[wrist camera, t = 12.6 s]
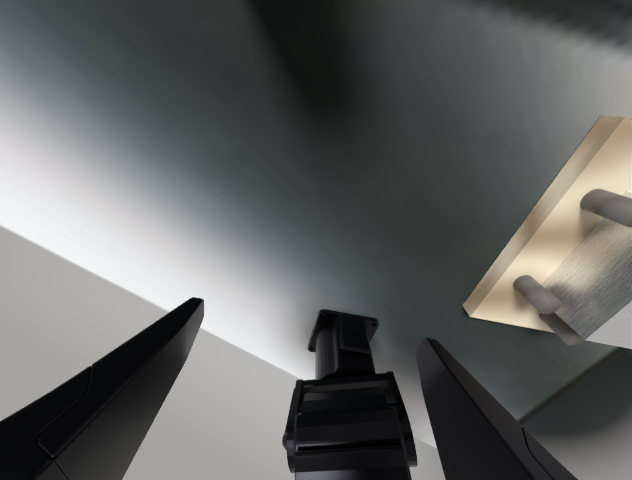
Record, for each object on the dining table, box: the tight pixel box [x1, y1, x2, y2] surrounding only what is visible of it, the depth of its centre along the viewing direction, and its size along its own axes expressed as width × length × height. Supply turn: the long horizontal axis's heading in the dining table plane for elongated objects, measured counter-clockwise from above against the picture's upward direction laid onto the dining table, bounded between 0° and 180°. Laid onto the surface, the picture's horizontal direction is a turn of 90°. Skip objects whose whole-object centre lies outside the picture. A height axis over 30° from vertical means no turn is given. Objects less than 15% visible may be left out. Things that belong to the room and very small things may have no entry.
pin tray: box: [463, 116, 632, 346], centre depth 20 cm, size 18×14×4 cm
